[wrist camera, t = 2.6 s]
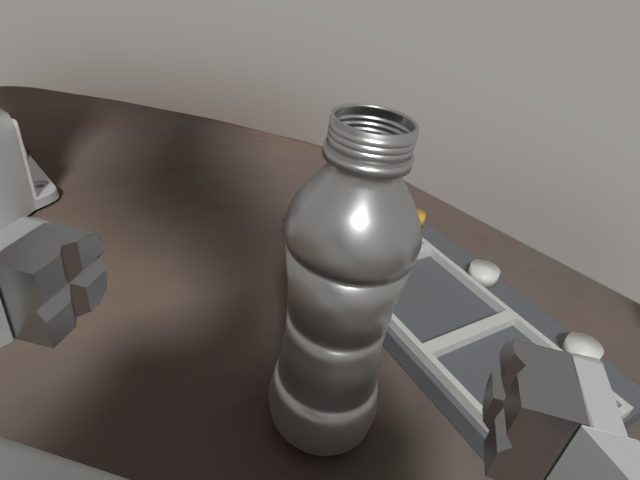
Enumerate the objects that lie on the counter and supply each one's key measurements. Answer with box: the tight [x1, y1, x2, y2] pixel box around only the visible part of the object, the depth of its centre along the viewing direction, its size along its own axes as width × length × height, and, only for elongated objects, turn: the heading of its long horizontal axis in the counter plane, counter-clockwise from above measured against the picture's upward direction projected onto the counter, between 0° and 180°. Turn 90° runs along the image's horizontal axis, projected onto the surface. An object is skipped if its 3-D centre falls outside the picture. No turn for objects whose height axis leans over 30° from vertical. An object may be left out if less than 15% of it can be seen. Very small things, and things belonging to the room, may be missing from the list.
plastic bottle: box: [268, 104, 422, 456], centre depth 25 cm, size 6×7×20 cm
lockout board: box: [282, 207, 640, 460], centre depth 41 cm, size 30×14×3 cm, turn 31°
